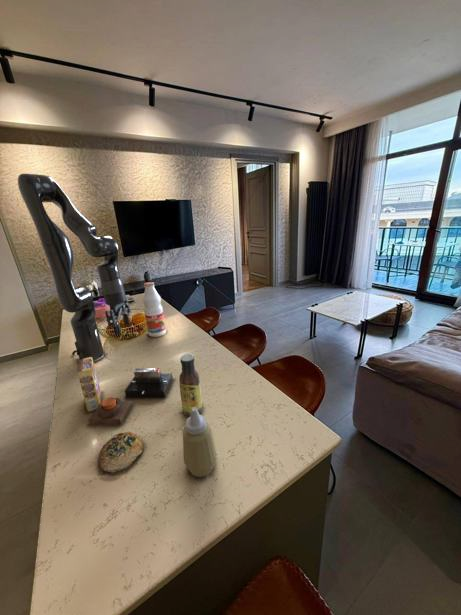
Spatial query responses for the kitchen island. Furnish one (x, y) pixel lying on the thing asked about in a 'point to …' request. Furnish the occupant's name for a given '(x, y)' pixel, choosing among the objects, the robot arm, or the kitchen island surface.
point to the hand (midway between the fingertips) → (123, 329)
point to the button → (109, 403)
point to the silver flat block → (148, 375)
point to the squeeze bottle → (198, 445)
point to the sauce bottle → (189, 385)
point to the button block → (111, 413)
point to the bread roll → (120, 452)
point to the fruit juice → (153, 311)
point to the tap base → (149, 388)
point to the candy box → (89, 383)
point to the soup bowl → (101, 308)
